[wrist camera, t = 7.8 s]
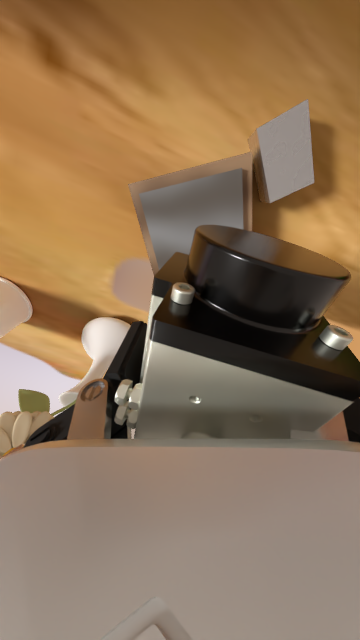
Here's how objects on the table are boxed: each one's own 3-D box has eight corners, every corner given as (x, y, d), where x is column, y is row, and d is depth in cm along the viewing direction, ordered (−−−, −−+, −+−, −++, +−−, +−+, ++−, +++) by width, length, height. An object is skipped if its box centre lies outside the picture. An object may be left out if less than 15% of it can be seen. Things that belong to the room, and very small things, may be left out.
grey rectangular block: (247, 139, 20) (256, 128, 17) (289, 115, 19) (308, 98, 15) (260, 201, 23) (270, 203, 19) (297, 184, 21) (314, 182, 18)
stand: (138, 185, 23) (126, 184, 19) (244, 158, 20) (253, 150, 17) (172, 313, 32) (168, 329, 28) (246, 304, 30) (252, 320, 26)
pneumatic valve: (283, 227, 12) (560, 391, 2) (221, 357, 19) (214, 542, 9) (197, 205, 12) (67, 250, 2) (166, 341, 19) (100, 501, 9)
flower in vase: (157, 348, 37) (102, 547, 16) (113, 365, 41) (23, 543, 20) (114, 294, 31) (-55, 495, 11) (67, 319, 35) (-125, 503, 14)
